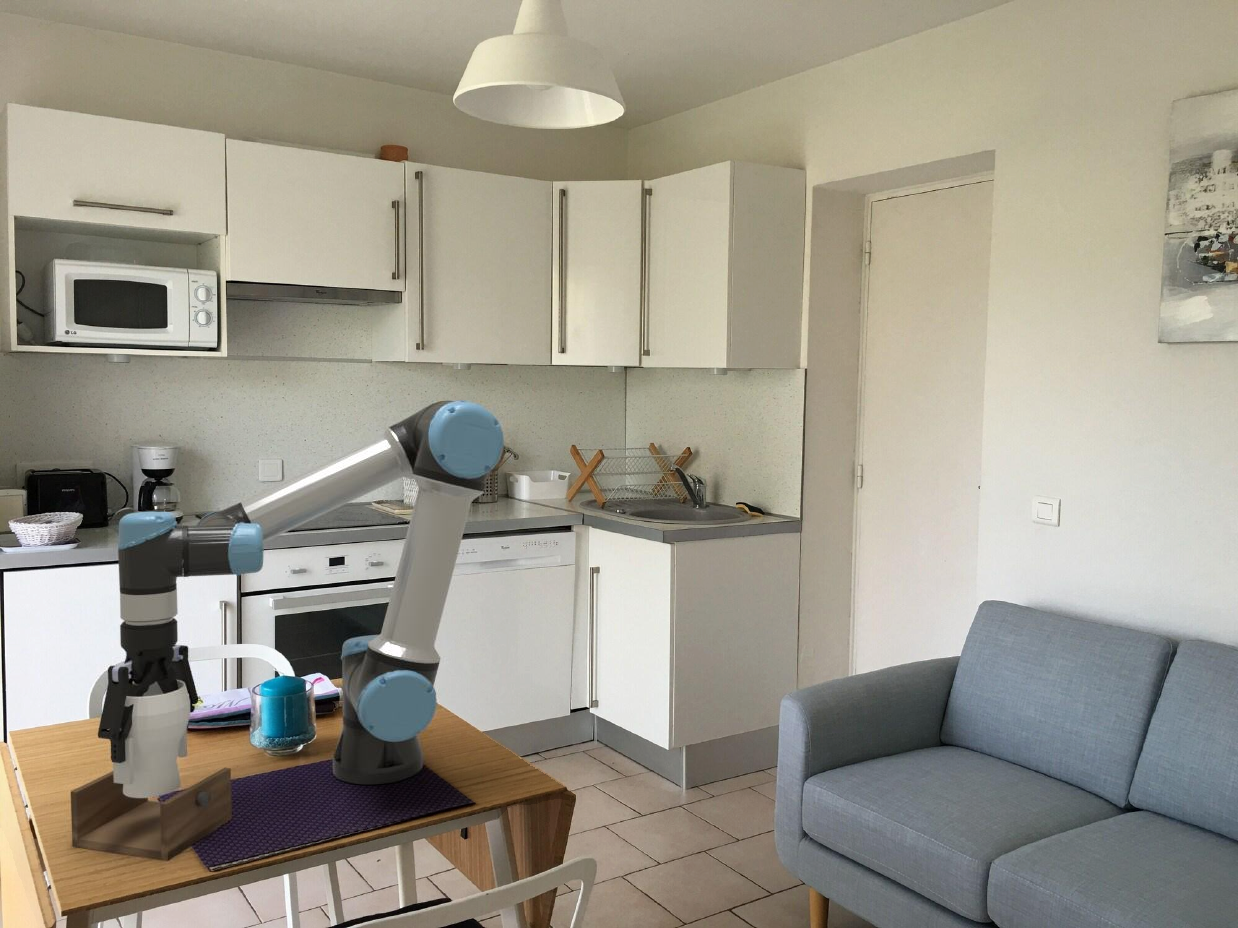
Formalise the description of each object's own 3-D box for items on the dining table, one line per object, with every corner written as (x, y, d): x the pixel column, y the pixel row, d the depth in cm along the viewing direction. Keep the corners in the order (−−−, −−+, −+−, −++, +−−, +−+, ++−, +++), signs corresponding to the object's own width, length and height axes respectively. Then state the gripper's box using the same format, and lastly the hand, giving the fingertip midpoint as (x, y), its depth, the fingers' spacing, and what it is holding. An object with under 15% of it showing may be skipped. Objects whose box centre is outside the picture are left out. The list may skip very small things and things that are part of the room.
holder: (237, 820, 154) (236, 768, 153) (173, 861, 140) (172, 805, 140) (137, 806, 159) (135, 756, 158) (66, 845, 145) (64, 790, 144)
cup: (98, 789, 148) (96, 688, 147) (169, 769, 156) (167, 673, 155) (132, 809, 141) (130, 703, 140) (205, 786, 150) (203, 686, 149)
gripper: (180, 602, 159) (183, 740, 161) (64, 635, 137) (68, 795, 139) (222, 605, 157) (224, 745, 159) (111, 639, 135) (114, 801, 137)
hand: (151, 768), depth 149 cm, fingers closed on cup, 10 cm apart
